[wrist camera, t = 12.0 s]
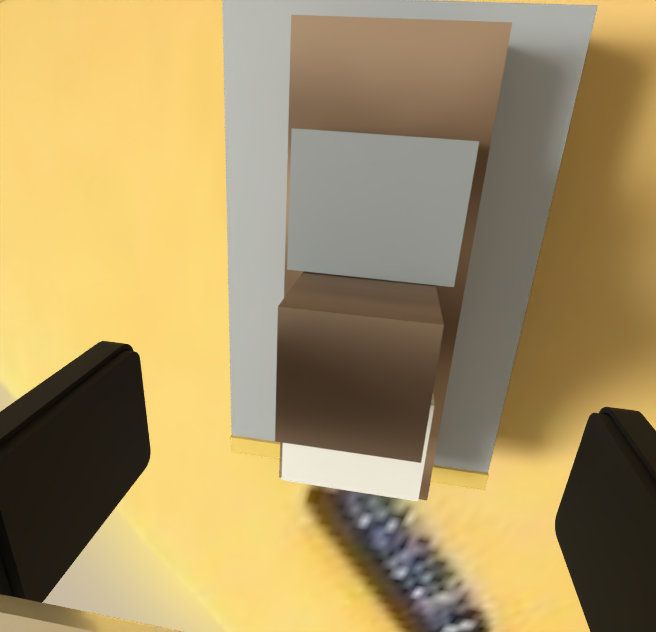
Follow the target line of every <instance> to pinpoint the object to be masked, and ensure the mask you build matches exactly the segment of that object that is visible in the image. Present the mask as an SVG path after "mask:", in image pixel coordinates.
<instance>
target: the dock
mask: <svg viewBox="0 0 656 632" xmlns="http://www.w3.org/2000/svg"><path fill="white" fill-rule="evenodd" d="M596 11H597V6H596V5H563V4H530V3H497V2H464V1H431V0H223V46H224V94H225V141H226V189H227V237H228V284H229V332H230V380H231V427H232V435H231V437H230V440H231V452H235V453H241V454H248V455H254V456H261V457H267V458H274V459H280V442H275V420H276V372H277V324H278V306H279V304H280V303H281V302H282V300H283V299H284V277H285V238H286V199H287V160H288V121H289V82H290V44H291V15H315V16H344V17H373V18H401V19H430V20H459V21H487V22H512V27H511V32H510V38H509V44H508V49H507V55H506V60H505V66H504V72H503V77H502V83H501V88H500V94H499V100H498V105H497V111H496V116H495V122H494V128H493V133H492V139H491V144H490V150H489V156H488V161H487V167H486V173H485V178H484V184H483V189H482V195H481V201H480V206H479V212H478V217H477V223H476V229H475V234H474V240H473V245H472V251H471V257H470V262H469V268H468V273H467V279H466V285H465V290H464V296H463V301H462V307H461V313H460V318H459V324H458V329H457V335H456V341H455V346H454V352H453V357H452V363H451V369H450V374H449V380H448V385H447V391H446V397H445V402H444V408H443V413H442V419H441V425H440V430H439V436H438V441H437V447H436V453H435V458H434V464H433V469H432V475H431V481H430V482H432V483H439V484H445V485H452V486H459V487H465V488H472V489H478V490H485V488H486V484H487V480H488V476H489V475H488V470H489V466H490V462H491V458H492V453H493V449H494V445H495V441H496V436H497V432H498V428H499V423H500V419H501V415H502V411H503V406H504V402H505V398H506V394H507V389H508V385H509V381H510V377H511V372H512V368H513V364H514V360H515V355H516V351H517V347H518V343H519V338H520V334H521V330H522V326H523V321H524V317H525V313H526V309H527V304H528V300H529V296H530V292H531V287H532V283H533V279H534V274H535V270H536V266H537V262H538V257H539V253H540V249H541V245H542V240H543V236H544V232H545V228H546V223H547V219H548V215H549V211H550V206H551V202H552V198H553V194H554V189H555V185H556V181H557V177H558V172H559V168H560V164H561V160H562V155H563V151H564V147H565V143H566V138H567V134H568V130H569V125H570V121H571V117H572V113H573V108H574V104H575V100H576V96H577V91H578V87H579V83H580V79H581V74H582V70H583V66H584V62H585V57H586V53H587V49H588V45H589V40H590V36H591V32H592V28H593V23H594V19H595V15H596Z"/></svg>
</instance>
